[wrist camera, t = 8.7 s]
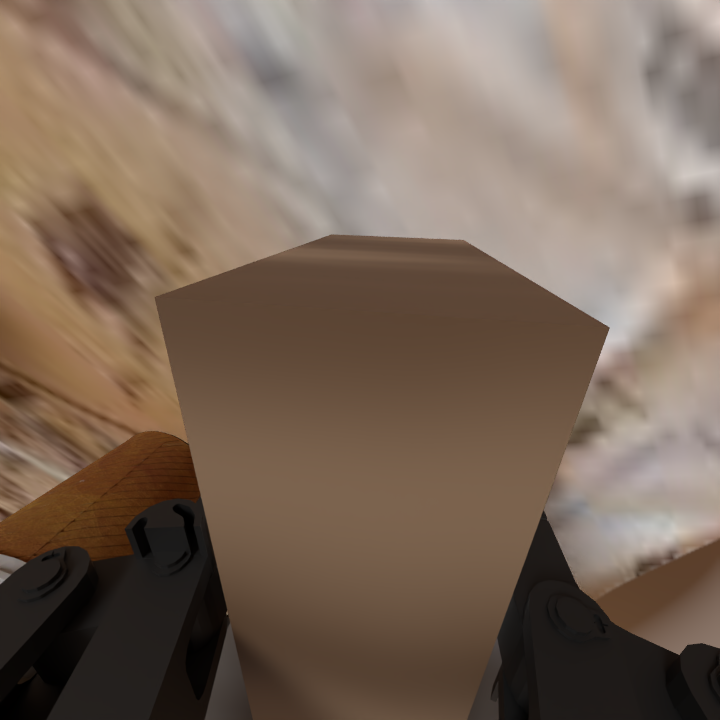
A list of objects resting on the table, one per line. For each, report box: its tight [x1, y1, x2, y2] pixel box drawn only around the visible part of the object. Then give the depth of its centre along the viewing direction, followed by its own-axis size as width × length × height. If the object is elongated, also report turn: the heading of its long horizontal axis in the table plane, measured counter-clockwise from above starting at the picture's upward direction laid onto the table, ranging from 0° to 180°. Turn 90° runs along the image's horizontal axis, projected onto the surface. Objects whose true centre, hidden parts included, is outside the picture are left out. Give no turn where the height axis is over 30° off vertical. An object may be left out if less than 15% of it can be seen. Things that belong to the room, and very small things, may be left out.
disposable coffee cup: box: [0, 431, 200, 584], centre depth 19 cm, size 10×10×12 cm
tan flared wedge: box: [155, 235, 609, 720], centre depth 9 cm, size 13×9×8 cm
